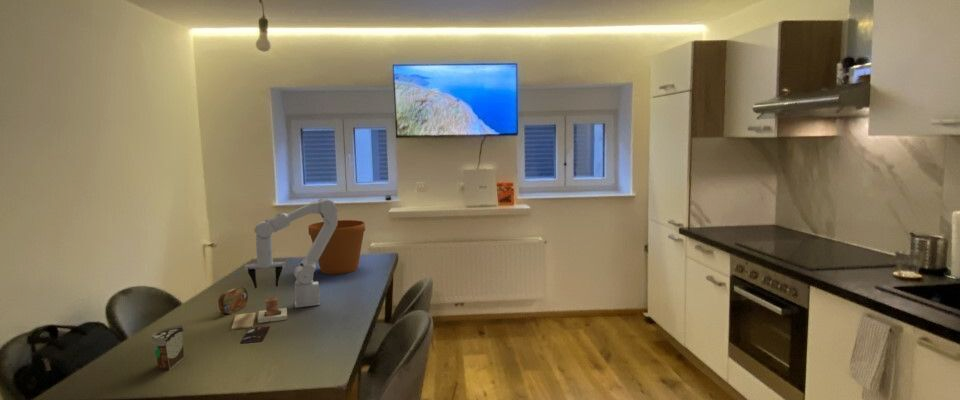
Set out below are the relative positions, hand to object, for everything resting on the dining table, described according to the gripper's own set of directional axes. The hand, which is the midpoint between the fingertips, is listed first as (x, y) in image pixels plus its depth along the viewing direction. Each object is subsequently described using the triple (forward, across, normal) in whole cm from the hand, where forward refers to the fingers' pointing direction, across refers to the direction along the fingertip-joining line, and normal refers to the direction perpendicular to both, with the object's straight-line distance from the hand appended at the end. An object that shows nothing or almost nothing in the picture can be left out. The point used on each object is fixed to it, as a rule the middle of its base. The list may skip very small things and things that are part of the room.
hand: (266, 286), depth 211 cm
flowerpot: (+9, +31, +58) cm, 67 cm away
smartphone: (+10, -2, -28) cm, 30 cm away
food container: (+10, -26, -44) cm, 53 cm away
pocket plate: (+9, +2, -10) cm, 14 cm away
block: (+10, +2, -10) cm, 14 cm away
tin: (+10, -13, +6) cm, 17 cm away
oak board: (+10, -8, -11) cm, 17 cm away
